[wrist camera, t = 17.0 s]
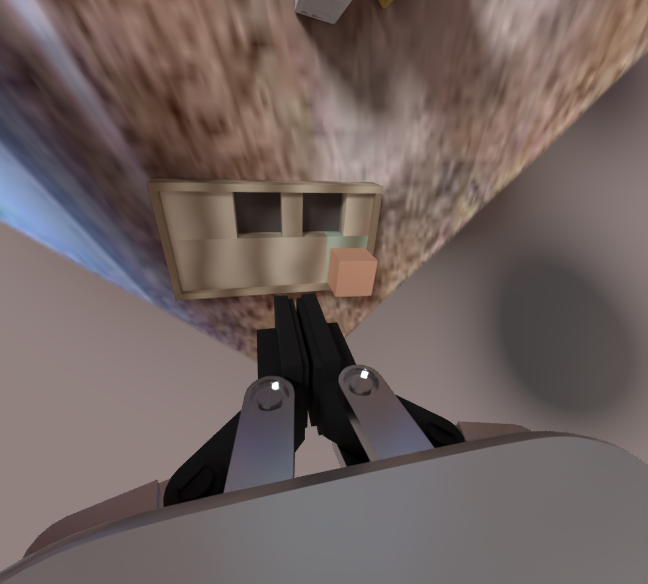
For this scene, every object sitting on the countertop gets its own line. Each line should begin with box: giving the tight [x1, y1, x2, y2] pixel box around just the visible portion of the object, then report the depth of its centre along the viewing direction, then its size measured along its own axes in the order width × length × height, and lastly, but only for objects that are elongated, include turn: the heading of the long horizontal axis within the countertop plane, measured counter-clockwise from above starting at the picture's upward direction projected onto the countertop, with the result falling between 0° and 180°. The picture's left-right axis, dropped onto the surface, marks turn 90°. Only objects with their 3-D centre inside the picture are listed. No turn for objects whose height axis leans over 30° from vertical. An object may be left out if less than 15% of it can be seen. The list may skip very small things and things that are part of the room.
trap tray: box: [147, 178, 383, 300], centre depth 36 cm, size 26×14×3 cm, turn 87°
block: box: [327, 248, 378, 297], centre depth 37 cm, size 5×5×4 cm
